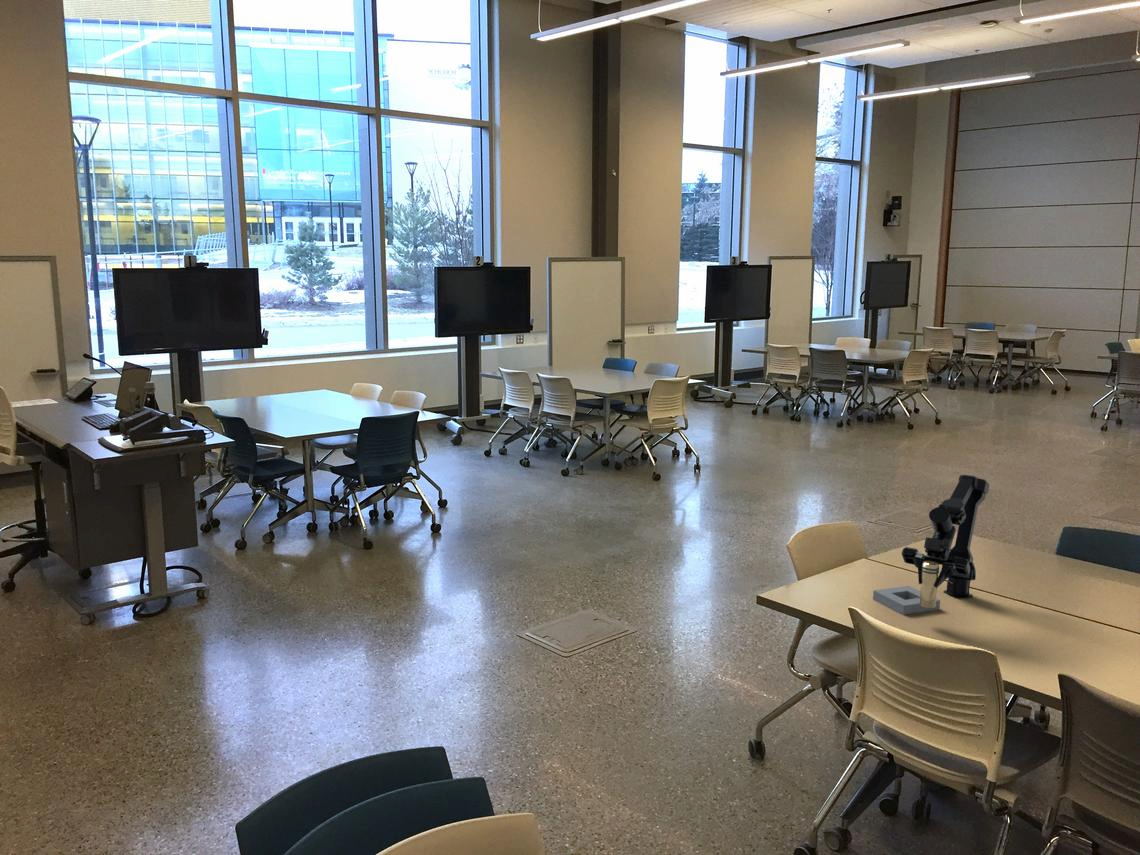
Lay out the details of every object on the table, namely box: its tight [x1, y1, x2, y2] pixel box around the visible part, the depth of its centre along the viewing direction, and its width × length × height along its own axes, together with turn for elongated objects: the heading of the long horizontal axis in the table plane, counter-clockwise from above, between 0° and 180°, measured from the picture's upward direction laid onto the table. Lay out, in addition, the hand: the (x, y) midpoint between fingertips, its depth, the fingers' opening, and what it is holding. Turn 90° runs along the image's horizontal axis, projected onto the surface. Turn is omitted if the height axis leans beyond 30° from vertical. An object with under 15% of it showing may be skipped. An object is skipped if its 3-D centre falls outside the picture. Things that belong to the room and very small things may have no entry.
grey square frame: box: [872, 585, 941, 616], centre depth 279 cm, size 14×14×3 cm
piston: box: [920, 561, 940, 608], centre depth 262 cm, size 5×5×13 cm
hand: (927, 585), depth 261 cm, fingers closed on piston, 4 cm apart
